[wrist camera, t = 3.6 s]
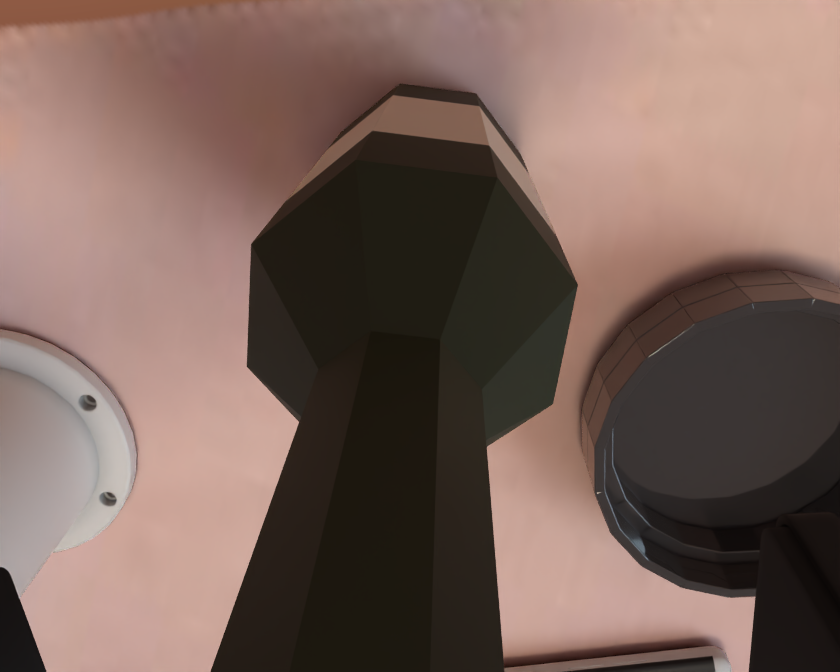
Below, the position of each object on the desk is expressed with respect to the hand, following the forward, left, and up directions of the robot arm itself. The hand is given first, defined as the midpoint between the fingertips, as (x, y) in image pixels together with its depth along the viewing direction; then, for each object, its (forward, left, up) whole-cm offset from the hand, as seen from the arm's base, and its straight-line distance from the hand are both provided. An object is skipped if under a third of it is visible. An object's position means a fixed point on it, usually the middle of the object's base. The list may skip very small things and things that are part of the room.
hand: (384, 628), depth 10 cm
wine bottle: (0, 0, -27) cm, 27 cm away
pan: (+18, -3, -27) cm, 33 cm away
